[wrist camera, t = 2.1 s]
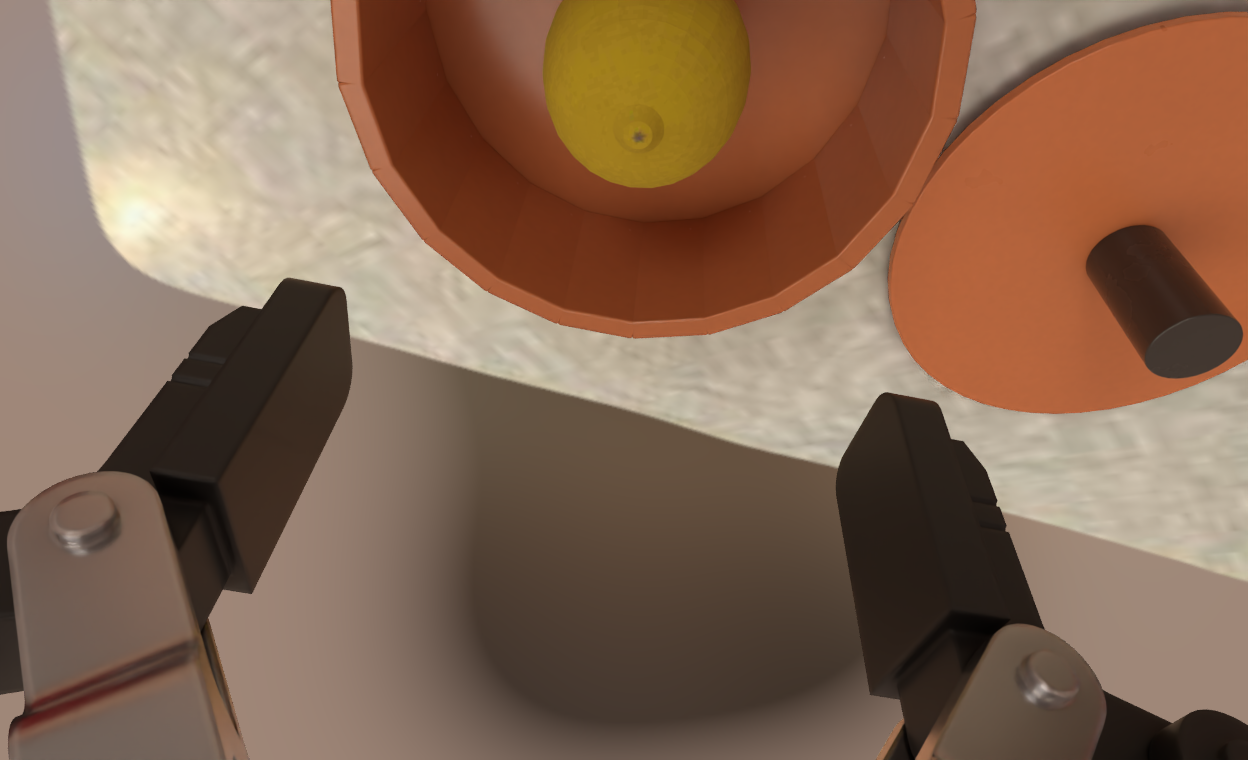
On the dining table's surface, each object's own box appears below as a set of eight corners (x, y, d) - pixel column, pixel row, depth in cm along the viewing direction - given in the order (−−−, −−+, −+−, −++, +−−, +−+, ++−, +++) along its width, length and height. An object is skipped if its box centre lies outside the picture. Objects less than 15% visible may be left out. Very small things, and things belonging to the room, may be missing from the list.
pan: (400, -398, 17) (293, -426, 13) (1023, -237, 18) (1129, -209, 14) (409, 186, 28) (352, 286, 23) (806, 266, 29) (826, 376, 24)
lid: (1027, -52, 21) (1114, 19, 17) (1531, 68, 22) (1737, 165, 18) (822, 357, 32) (842, 467, 28) (1167, 424, 33) (1239, 539, 29)
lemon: (599, 127, 25) (569, 260, 20) (537, -46, 22) (478, 53, 16) (760, 81, 24) (779, 210, 18) (721, -113, 20) (729, -30, 15)
